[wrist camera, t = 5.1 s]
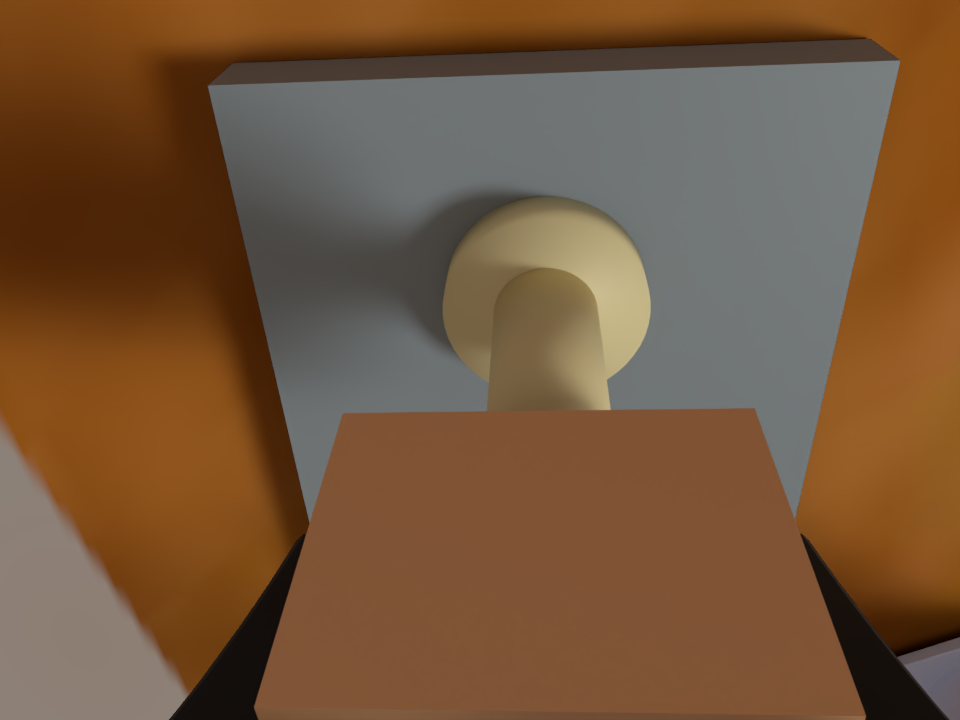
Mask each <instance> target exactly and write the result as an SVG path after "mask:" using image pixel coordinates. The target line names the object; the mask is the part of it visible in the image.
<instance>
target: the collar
mask: <svg viewBox="0 0 960 720" xmlns="http://www.w3.org/2000/svg"><path fill="white" fill-rule="evenodd" d="M254 709H255V712H256V715H257V717H258V720H865V718H866V714H865V711H864V709H863V706H862V703H861V700H860V698H859V695H858V692H857V689H856V687H855V684H854V681H853V678H852V676H851V673H850V670H849V667H848V665H847V662H846V659H845V656H844V654H843V651H842V648H841V645H840V642H839V640H838V637H837V634H836V631H835V629H834V626H833V623H832V620H831V618H830V615H829V612H828V609H827V607H826V604H825V601H824V598H823V596H822V593H821V590H820V587H819V585H818V582H817V579H816V576H815V574H814V571H813V568H812V565H811V563H810V560H809V557H808V554H807V552H806V549H805V546H804V543H803V540H802V538H801V535H800V532H799V529H798V527H797V524H796V521H795V518H794V516H793V513H792V510H791V507H790V505H789V502H788V499H787V496H786V494H785V491H784V488H783V485H782V483H781V480H780V477H779V474H778V472H777V469H776V466H775V463H774V461H773V458H772V455H771V452H770V450H769V447H768V444H767V441H766V438H765V436H764V433H763V430H762V427H761V425H760V422H759V419H758V416H757V414H756V411H755V408H731V409H646V410H561V411H477V412H392V413H343V414H342V418H341V421H340V424H339V427H338V431H337V434H336V437H335V441H334V444H333V447H332V451H331V454H330V457H329V461H328V464H327V467H326V470H325V474H324V477H323V480H322V484H321V487H320V490H319V494H318V497H317V500H316V504H315V507H314V510H313V514H312V517H311V520H310V523H309V527H308V530H307V533H306V537H305V540H304V543H303V547H302V550H301V553H300V557H299V560H298V563H297V566H296V570H295V573H294V576H293V580H292V583H291V586H290V590H289V593H288V596H287V600H286V603H285V606H284V609H283V613H282V616H281V619H280V623H279V626H278V629H277V633H276V636H275V639H274V643H273V646H272V649H271V653H270V656H269V659H268V662H267V666H266V669H265V672H264V676H263V679H262V682H261V686H260V689H259V692H258V696H257V699H256V702H255V705H254Z"/></svg>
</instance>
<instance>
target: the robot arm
mask: <svg viewBox="0 0 960 720" xmlns="http://www.w3.org/2000/svg"><path fill="white" fill-rule="evenodd" d="M800 535H801V538H802V540H803V543H804V546H805V549H806V552H807V554H808V557H809V560H810V563H811V565H812V568H813V571H814V574H815V576H816V579H817V582H818V585H819V587H820V590H821V593H822V596H823V598H824V601H825V604H826V607H827V609H828V612H829V615H830V618H831V620H832V623H833V626H834V629H835V631H836V634H837V637H838V640H839V642H840V645H841V648H842V651H843V654H844V656H845V659H846V662H847V665H848V667H849V670H850V673H851V676H852V678H853V681H854V684H855V687H856V689H857V692H858V695H859V698H860V700H861V703H862V706H863V709H864V711H865V714H866V718H865V720H960V637H958V638H955V639H952V640H949V641H946V642H943V643H940V644H936V645H933V646H930V647H927V648H924V649H921V650H917V651H914V652H911V653H908V654H905V655H902V656H899V657H897V656H896V655H895V654H894V653H893V652H892V650H891V649H890V648H889V647H888V645H887V644H886V643H885V642H884V640H883V639H882V638H881V637H880V635H879V634H878V633H877V631H876V630H875V629H874V628H873V626H872V625H871V624H870V622H869V621H868V620H867V619H866V617H865V616H864V615H863V613H862V612H861V611H860V609H859V608H858V607H857V605H856V604H855V603H854V602H853V600H852V599H851V598H850V596H849V595H848V594H847V592H846V591H845V590H844V588H843V587H842V586H841V584H840V583H839V581H838V580H837V579H836V577H835V576H834V575H833V573H832V572H831V571H830V569H829V568H828V566H827V565H826V564H825V562H824V561H823V560H822V558H821V557H820V555H819V554H818V553H817V551H816V550H815V548H814V547H813V546H812V544H811V543H810V541H809V540H808V539H807V538H806V537H805V536H804V535H802V534H800ZM305 537H306V534H303V535H302V536H301V537H300V538H299V539H298V540H297V541H296V542H295V544H294V546H293V547H292V549H291V550H290V552H289V554H288V555H287V557H286V558H285V560H284V561H283V563H282V564H281V566H280V568H279V569H278V571H277V572H276V574H275V575H274V577H273V578H272V580H271V581H270V583H269V584H268V586H267V587H266V589H265V590H264V592H263V593H262V595H261V596H260V598H259V599H258V601H257V602H256V604H255V605H254V607H253V608H252V609H251V611H250V612H249V614H248V615H247V617H246V618H245V620H244V621H243V623H242V624H241V625H240V627H239V628H238V630H237V631H236V632H235V634H234V635H233V636H232V638H231V639H230V641H229V642H228V643H227V645H226V646H225V647H224V649H223V650H222V652H221V653H220V654H219V656H218V657H217V658H216V660H215V661H214V663H213V664H212V665H211V667H210V668H209V669H208V671H207V672H206V673H205V675H204V676H203V678H202V679H201V680H200V681H199V683H198V684H197V685H196V687H195V688H194V689H193V691H192V692H191V693H190V694H189V696H188V697H187V698H186V699H185V701H184V702H183V703H182V704H181V706H180V707H179V708H178V710H177V711H176V712H175V713H174V714H173V716H172V717H171V718H170V719H169V720H258V717H257V715H256V712H255V709H254V705H255V702H256V699H257V696H258V692H259V689H260V686H261V682H262V679H263V676H264V672H265V669H266V666H267V662H268V659H269V656H270V653H271V649H272V646H273V643H274V639H275V636H276V633H277V629H278V626H279V623H280V619H281V616H282V613H283V609H284V606H285V603H286V600H287V596H288V593H289V590H290V586H291V583H292V580H293V576H294V573H295V570H296V566H297V563H298V560H299V557H300V553H301V550H302V547H303V543H304V540H305Z"/></svg>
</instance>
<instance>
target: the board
mask: <svg viewBox="0 0 960 720" xmlns="http://www.w3.org/2000/svg"><path fill="white" fill-rule="evenodd" d="M899 64H900V60H899V59H898V58H896V57H895V56H894V55H892V54H891V53H889V52H888V51H887V50H885V49H884V48H883V47H881V46H880V45H878V44H877V43H876V42H874V41H873V40H872V39H849V40H823V41H797V42H771V43H745V44H719V45H693V46H666V47H640V48H614V49H588V50H562V51H536V52H510V53H484V54H457V55H431V56H405V57H379V58H353V59H327V60H301V61H274V62H248V63H232V64H231V65H230V66H229V67H228V68H227V69H226V70H224V71H223V72H222V73H221V74H220V75H219V76H218V77H217V78H216V79H214V80H213V81H212V82H211V83H210V84H209V85H208V89H209V93H210V98H211V102H212V106H213V111H214V115H215V119H216V123H217V128H218V132H219V136H220V141H221V145H222V149H223V154H224V158H225V162H226V166H227V171H228V175H229V179H230V184H231V188H232V192H233V196H234V201H235V205H236V209H237V214H238V218H239V222H240V227H241V231H242V235H243V239H244V244H245V248H246V252H247V257H248V261H249V265H250V270H251V274H252V278H253V282H254V287H255V291H256V295H257V300H258V304H259V308H260V313H261V317H262V321H263V325H264V330H265V334H266V338H267V343H268V347H269V351H270V355H271V360H272V364H273V368H274V373H275V377H276V381H277V386H278V390H279V394H280V398H281V403H282V407H283V411H284V416H285V420H286V424H287V429H288V433H289V437H290V441H291V446H292V450H293V454H294V459H295V463H296V467H297V472H298V476H299V480H300V484H301V489H302V493H303V497H304V502H305V506H306V510H307V514H308V519H309V523H310V520H311V517H312V514H313V510H314V507H315V504H316V500H317V497H318V494H319V490H320V487H321V484H322V480H323V477H324V474H325V470H326V467H327V464H328V461H329V457H330V454H331V451H332V447H333V444H334V441H335V437H336V434H337V431H338V427H339V424H340V421H341V418H342V414H343V413H392V412H477V411H561V410H646V409H731V408H755V411H756V414H757V416H758V419H759V422H760V425H761V427H762V430H763V433H764V436H765V438H766V441H767V444H768V447H769V450H770V452H771V455H772V458H773V461H774V463H775V466H776V469H777V472H778V474H779V477H780V480H781V483H782V485H783V488H784V491H785V494H786V496H787V499H788V502H789V505H790V507H791V510H792V513H793V516H794V518H795V517H796V513H797V508H798V504H799V499H800V495H801V491H802V486H803V482H804V478H805V473H806V469H807V465H808V460H809V456H810V452H811V447H812V443H813V439H814V434H815V430H816V425H817V421H818V417H819V412H820V408H821V404H822V399H823V395H824V391H825V386H826V382H827V378H828V373H829V369H830V365H831V360H832V356H833V352H834V347H835V343H836V338H837V334H838V330H839V325H840V321H841V317H842V312H843V308H844V304H845V299H846V295H847V291H848V286H849V282H850V278H851V273H852V269H853V265H854V260H855V256H856V251H857V247H858V243H859V238H860V234H861V230H862V225H863V221H864V217H865V212H866V208H867V204H868V199H869V195H870V191H871V186H872V182H873V177H874V173H875V169H876V164H877V160H878V156H879V151H880V147H881V143H882V138H883V134H884V130H885V125H886V121H887V117H888V112H889V108H890V104H891V99H892V95H893V90H894V86H895V82H896V77H897V73H898V69H899Z"/></svg>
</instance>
